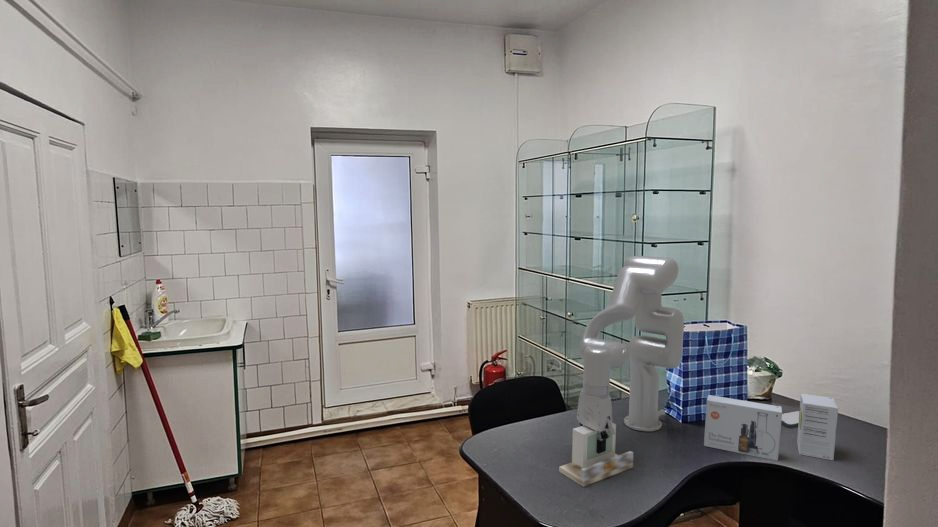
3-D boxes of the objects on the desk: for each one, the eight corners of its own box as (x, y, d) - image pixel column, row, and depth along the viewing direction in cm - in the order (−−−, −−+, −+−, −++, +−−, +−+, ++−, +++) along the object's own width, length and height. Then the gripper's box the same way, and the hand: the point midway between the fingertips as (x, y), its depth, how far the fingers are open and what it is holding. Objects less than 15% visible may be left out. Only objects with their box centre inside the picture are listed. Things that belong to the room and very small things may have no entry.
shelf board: (607, 454, 173) (607, 439, 172) (633, 468, 164) (634, 452, 163) (559, 471, 162) (559, 456, 161) (584, 487, 153) (584, 471, 153)
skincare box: (703, 447, 178) (706, 399, 176) (704, 440, 182) (707, 393, 180) (778, 462, 168) (782, 411, 166) (778, 454, 173) (782, 405, 171)
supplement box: (796, 442, 181) (800, 392, 179) (829, 448, 177) (834, 397, 175) (798, 454, 172) (803, 402, 170) (834, 461, 168) (838, 407, 166)
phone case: (798, 414, 205) (767, 420, 199) (799, 410, 205) (767, 415, 199) (821, 423, 197) (789, 429, 191) (822, 419, 197) (790, 425, 191)
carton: (571, 461, 162) (572, 428, 161) (603, 450, 169) (604, 419, 168) (583, 468, 158) (584, 434, 157) (615, 456, 165) (616, 424, 164)
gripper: (566, 382, 166) (564, 440, 168) (608, 400, 152) (606, 463, 154) (584, 378, 170) (582, 435, 172) (627, 395, 156) (625, 456, 158)
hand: (594, 447), depth 163 cm, fingers closed on carton, 4 cm apart
